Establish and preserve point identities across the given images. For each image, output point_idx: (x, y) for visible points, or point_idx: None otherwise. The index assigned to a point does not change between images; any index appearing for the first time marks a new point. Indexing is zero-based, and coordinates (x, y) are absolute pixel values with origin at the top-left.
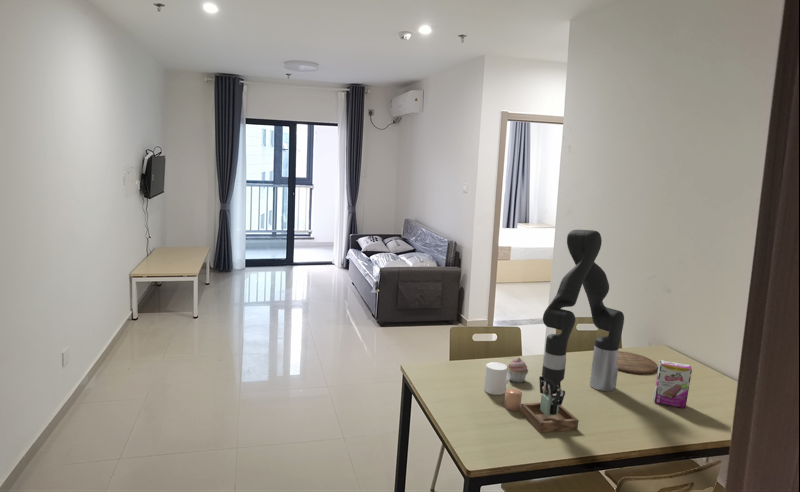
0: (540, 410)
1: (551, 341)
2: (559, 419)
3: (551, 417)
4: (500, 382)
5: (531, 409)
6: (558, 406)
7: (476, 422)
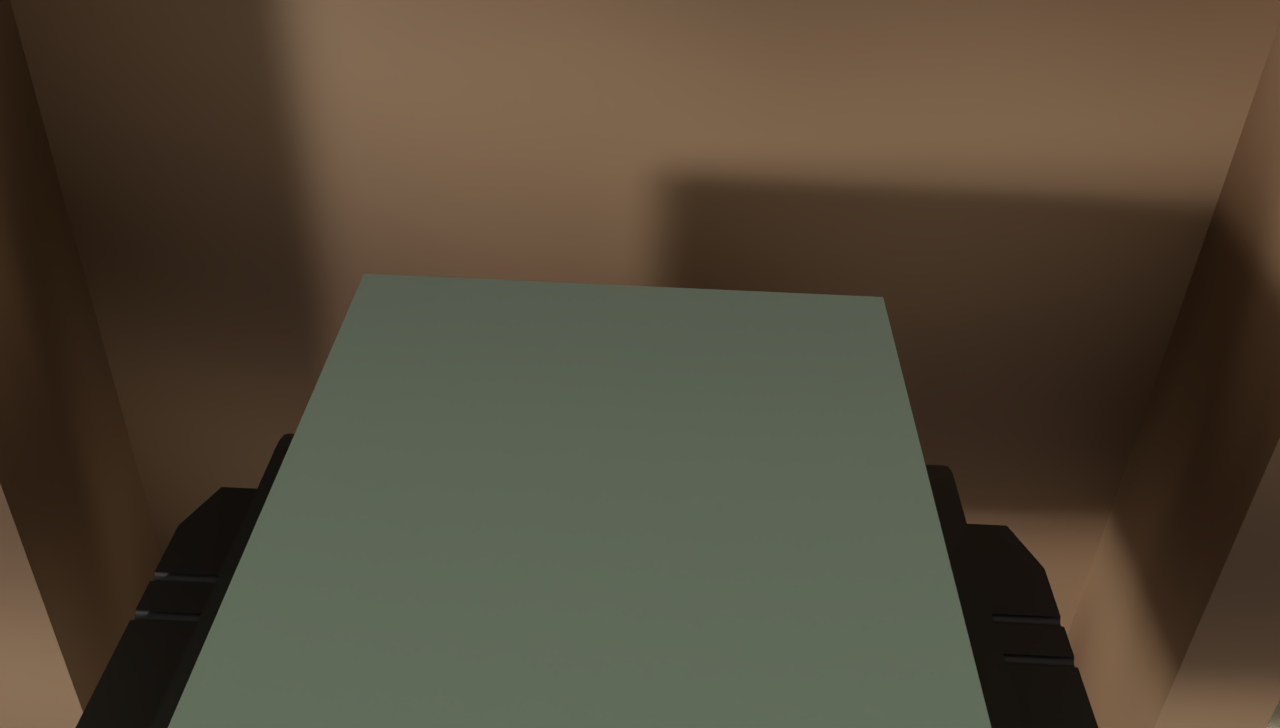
0: (94, 307)
1: None
2: (769, 29)
3: (585, 223)
4: None
5: (139, 580)
6: (948, 571)
7: None
